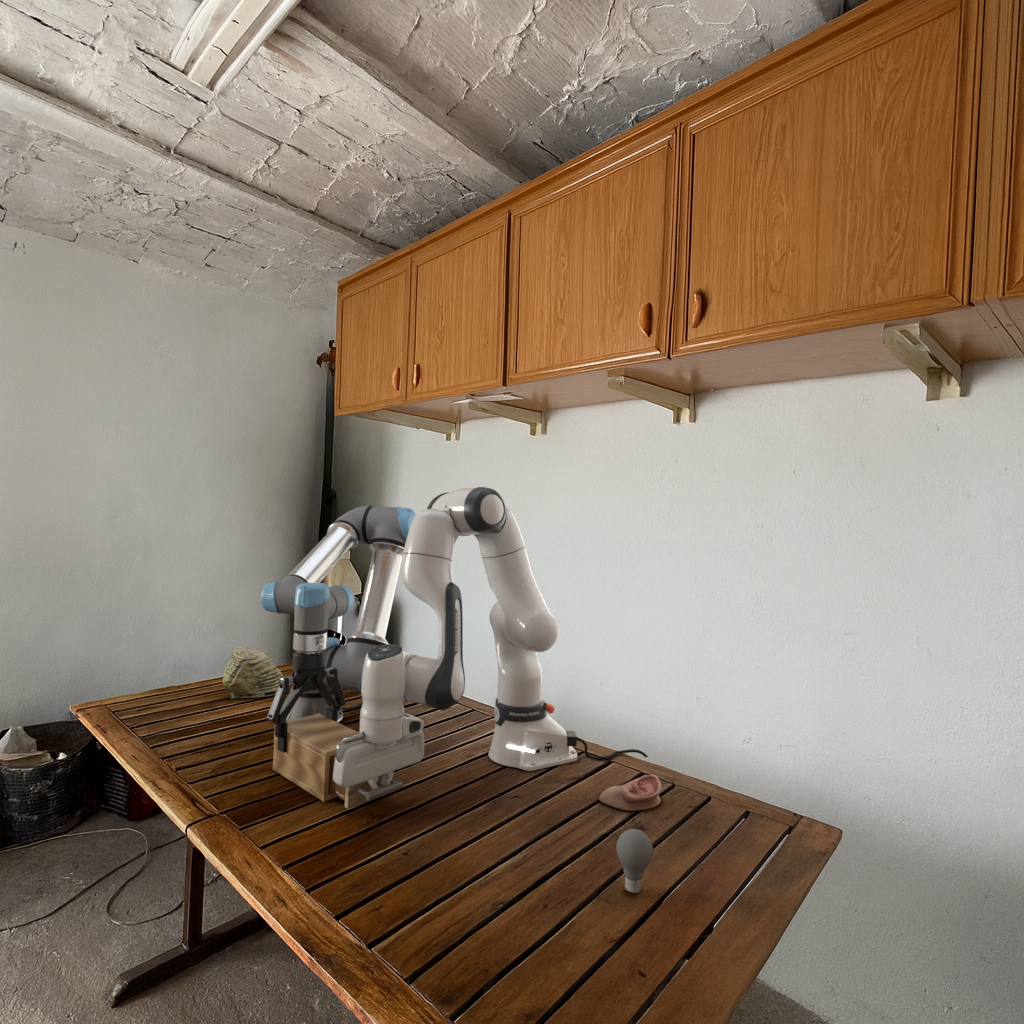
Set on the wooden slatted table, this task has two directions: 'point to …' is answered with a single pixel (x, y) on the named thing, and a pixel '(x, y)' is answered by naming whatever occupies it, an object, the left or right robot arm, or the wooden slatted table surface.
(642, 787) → the anatomical model
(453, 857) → the wooden slatted table surface
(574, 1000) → the wooden slatted table surface
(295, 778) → the cabinet
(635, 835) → the light bulb
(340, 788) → the drawer
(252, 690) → the fossil
